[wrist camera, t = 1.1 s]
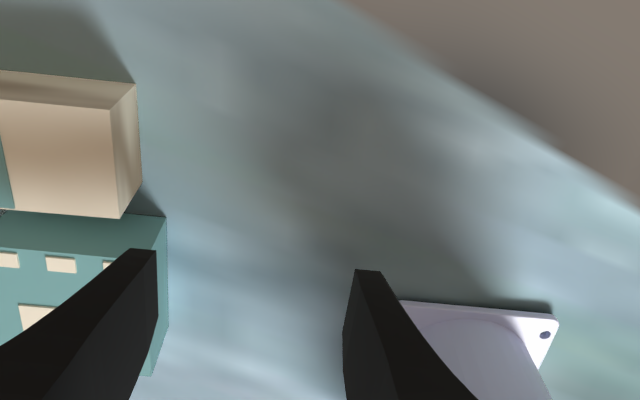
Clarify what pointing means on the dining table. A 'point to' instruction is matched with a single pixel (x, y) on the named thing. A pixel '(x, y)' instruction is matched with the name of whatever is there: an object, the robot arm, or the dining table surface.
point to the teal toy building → (70, 264)
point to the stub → (68, 145)
